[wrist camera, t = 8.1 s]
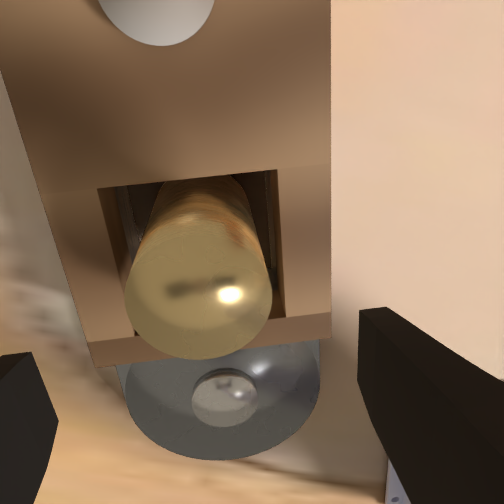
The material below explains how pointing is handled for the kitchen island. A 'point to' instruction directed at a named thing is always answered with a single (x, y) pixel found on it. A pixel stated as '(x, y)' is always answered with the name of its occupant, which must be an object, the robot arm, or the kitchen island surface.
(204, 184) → the brass pin
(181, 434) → the dark steel end link
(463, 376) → the robot arm
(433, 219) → the kitchen island surface
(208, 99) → the walnut end link
